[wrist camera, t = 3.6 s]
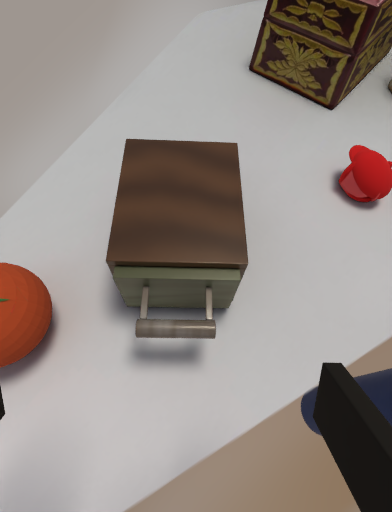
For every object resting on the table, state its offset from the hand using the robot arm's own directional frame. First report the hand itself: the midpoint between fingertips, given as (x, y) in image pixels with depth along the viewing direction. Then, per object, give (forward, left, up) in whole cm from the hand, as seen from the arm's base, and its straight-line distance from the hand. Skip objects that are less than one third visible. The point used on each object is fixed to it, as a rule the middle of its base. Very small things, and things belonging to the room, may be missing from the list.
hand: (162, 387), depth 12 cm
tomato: (+15, +11, -20) cm, 28 cm away
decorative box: (+41, -57, -20) cm, 73 cm away
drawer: (+13, -8, -19) cm, 24 cm away
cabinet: (+16, -10, -20) cm, 28 cm away
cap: (+12, -38, -20) cm, 45 cm away
